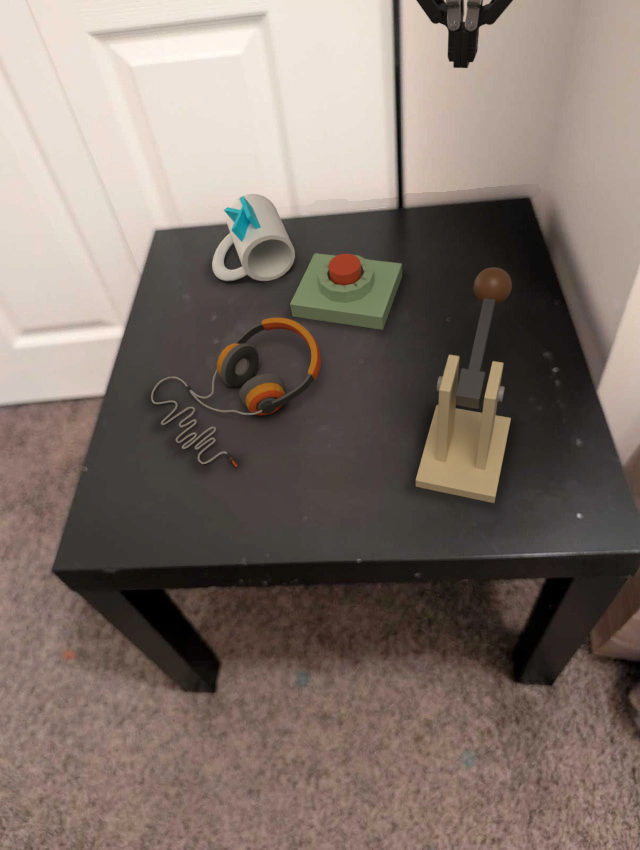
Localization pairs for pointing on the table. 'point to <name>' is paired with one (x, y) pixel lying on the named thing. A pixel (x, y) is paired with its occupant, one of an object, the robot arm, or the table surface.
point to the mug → (255, 241)
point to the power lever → (482, 334)
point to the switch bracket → (465, 440)
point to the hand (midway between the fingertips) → (462, 64)
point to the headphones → (250, 379)
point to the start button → (345, 269)
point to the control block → (347, 293)
